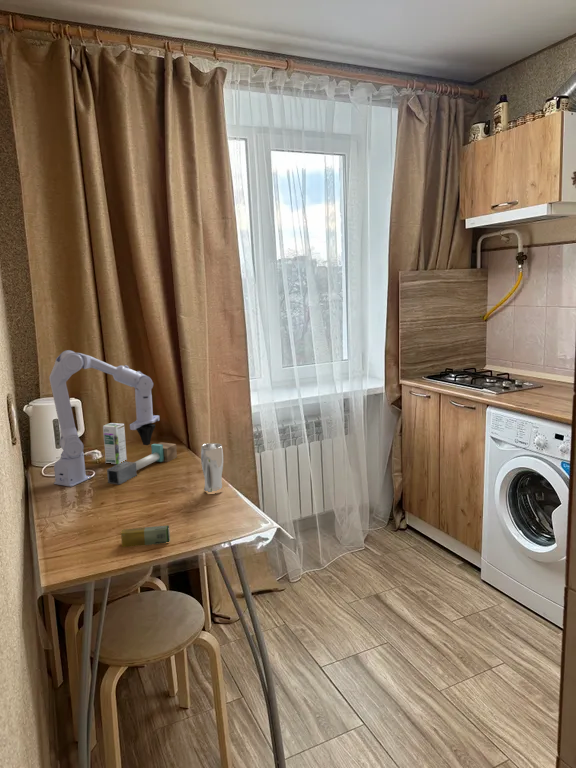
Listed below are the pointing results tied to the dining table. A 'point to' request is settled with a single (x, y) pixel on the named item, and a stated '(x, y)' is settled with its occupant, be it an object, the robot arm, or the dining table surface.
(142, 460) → the slip tube
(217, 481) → the beer glass
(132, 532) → the medication box
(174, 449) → the socket block
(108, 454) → the syrup box
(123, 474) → the sleeve
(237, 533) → the dining table surface
